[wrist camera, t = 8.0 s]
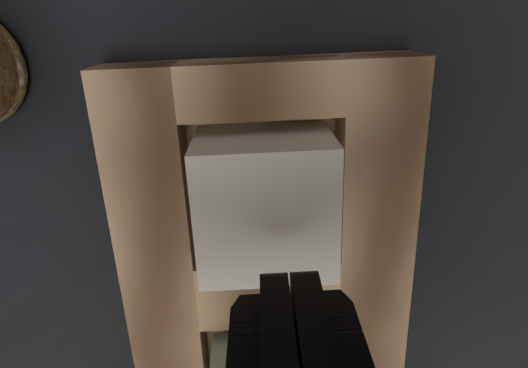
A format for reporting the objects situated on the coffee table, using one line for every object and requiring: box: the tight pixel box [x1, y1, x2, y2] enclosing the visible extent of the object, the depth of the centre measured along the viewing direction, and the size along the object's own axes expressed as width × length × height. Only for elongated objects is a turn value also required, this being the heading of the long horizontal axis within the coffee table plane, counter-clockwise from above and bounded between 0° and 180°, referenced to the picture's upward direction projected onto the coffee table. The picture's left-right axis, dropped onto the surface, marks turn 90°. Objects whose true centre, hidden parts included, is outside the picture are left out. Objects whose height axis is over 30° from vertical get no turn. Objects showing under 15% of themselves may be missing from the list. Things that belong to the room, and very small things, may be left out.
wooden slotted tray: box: [80, 50, 435, 368], centre depth 21 cm, size 12×28×2 cm, turn 2°
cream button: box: [184, 120, 344, 292], centre depth 17 cm, size 5×5×4 cm
